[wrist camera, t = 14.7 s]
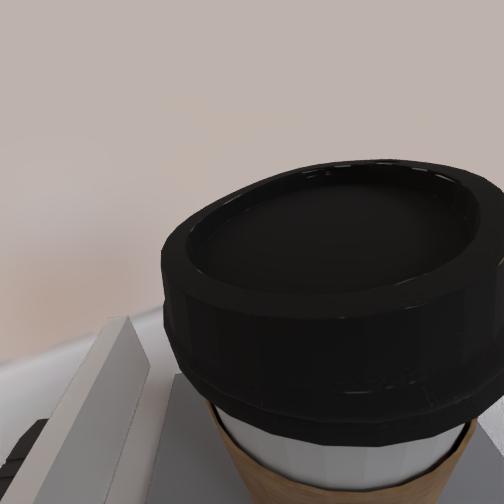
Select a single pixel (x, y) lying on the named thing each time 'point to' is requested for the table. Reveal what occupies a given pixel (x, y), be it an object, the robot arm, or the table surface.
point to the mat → (231, 484)
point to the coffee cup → (343, 326)
